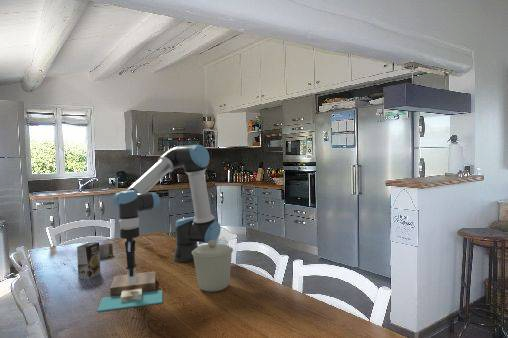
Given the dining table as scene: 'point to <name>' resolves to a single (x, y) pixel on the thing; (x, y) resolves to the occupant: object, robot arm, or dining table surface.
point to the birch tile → (131, 295)
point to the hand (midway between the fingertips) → (132, 283)
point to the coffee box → (88, 260)
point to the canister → (213, 266)
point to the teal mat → (116, 303)
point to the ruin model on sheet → (106, 250)
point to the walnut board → (142, 281)
